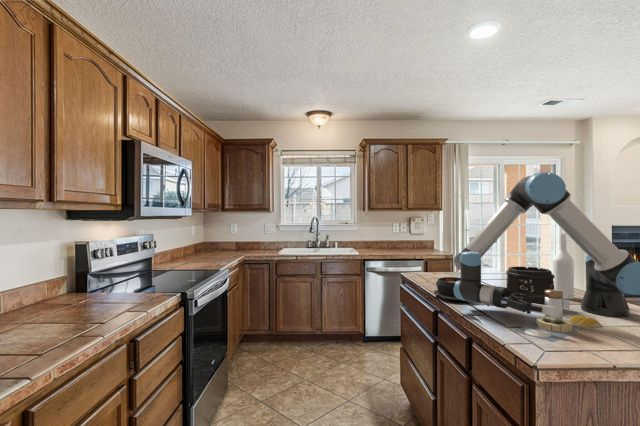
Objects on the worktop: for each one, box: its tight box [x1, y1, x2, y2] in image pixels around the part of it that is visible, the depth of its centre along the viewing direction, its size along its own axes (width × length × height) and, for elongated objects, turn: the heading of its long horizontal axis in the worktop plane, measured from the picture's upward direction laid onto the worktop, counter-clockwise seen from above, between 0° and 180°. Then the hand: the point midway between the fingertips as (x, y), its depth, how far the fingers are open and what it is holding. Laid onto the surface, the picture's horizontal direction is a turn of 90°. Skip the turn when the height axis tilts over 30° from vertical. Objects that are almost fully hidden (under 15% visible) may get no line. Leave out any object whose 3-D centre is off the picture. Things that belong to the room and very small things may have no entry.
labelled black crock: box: [505, 266, 555, 305], centre depth 149 cm, size 18×18×16 cm
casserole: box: [433, 276, 462, 301], centre depth 164 cm, size 25×19×8 cm
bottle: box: [552, 232, 575, 300], centre depth 163 cm, size 8×8×30 cm
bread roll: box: [568, 315, 603, 328], centre depth 120 cm, size 8×9×4 cm
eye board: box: [512, 316, 582, 343], centre depth 112 cm, size 20×12×4 cm, turn 124°
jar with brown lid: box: [544, 289, 564, 324], centre depth 115 cm, size 5×5×12 cm
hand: (562, 308), depth 113 cm, fingers open, 13 cm apart
